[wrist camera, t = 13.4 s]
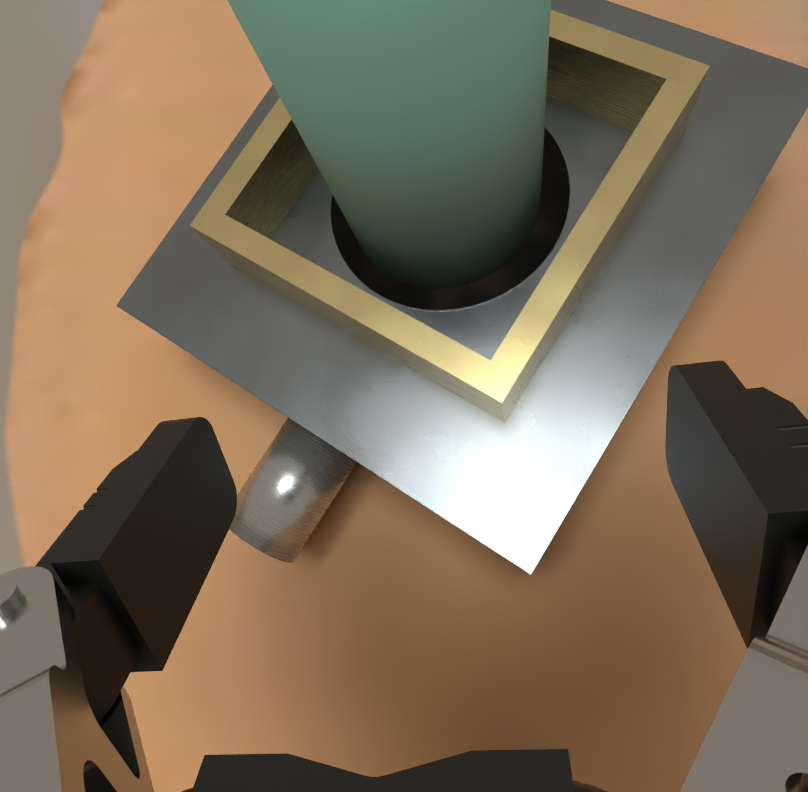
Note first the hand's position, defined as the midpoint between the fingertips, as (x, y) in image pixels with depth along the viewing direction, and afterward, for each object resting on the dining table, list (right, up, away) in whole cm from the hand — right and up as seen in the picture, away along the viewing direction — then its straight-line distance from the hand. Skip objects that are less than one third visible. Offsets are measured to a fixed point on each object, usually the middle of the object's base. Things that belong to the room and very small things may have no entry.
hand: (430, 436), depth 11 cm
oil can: (+1, +8, +9) cm, 12 cm away
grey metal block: (+1, +4, +13) cm, 14 cm away
